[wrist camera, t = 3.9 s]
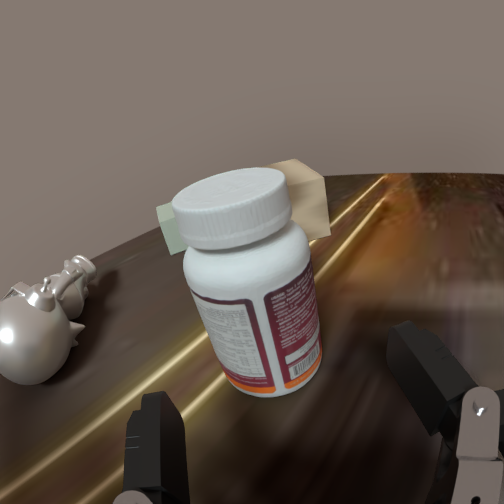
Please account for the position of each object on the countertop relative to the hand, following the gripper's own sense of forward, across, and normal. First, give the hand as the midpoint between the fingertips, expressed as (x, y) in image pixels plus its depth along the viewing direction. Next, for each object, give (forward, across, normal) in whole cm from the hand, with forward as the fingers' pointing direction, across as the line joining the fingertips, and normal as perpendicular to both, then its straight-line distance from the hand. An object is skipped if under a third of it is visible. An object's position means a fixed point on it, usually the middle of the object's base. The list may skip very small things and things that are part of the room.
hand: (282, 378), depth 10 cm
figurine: (+14, +17, +7) cm, 23 cm away
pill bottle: (+7, 0, +7) cm, 9 cm away
